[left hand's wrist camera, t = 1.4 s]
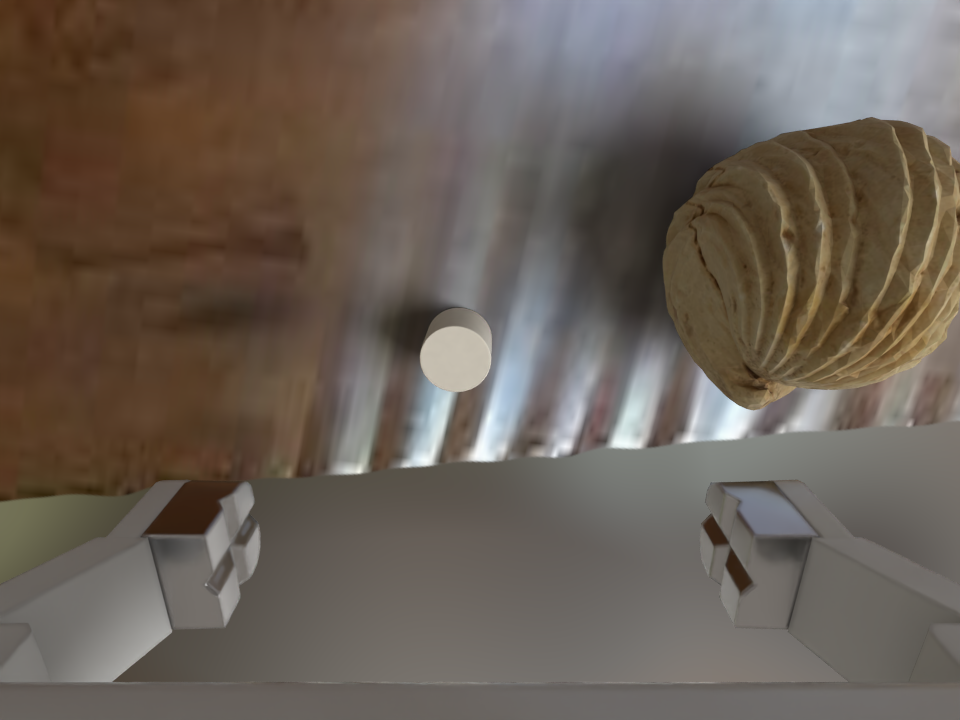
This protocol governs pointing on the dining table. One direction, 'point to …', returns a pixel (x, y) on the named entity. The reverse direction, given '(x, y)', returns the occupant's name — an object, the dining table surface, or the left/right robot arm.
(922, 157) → the fossil
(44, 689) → the left robot arm
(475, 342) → the canister
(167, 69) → the dining table surface
